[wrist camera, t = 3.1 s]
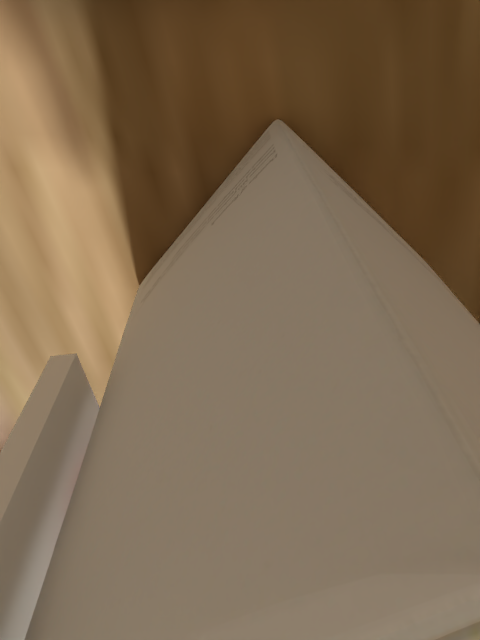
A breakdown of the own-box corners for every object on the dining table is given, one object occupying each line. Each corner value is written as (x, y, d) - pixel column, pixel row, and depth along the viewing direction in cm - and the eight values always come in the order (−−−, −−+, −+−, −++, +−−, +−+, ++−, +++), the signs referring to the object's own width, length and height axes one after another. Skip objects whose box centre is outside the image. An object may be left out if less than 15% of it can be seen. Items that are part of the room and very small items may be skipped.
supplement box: (130, 287, 18) (-79, 851, 6) (276, 110, 14) (597, 598, 2) (284, 388, 22) (363, 873, 9) (433, 266, 18) (903, 795, 5)
